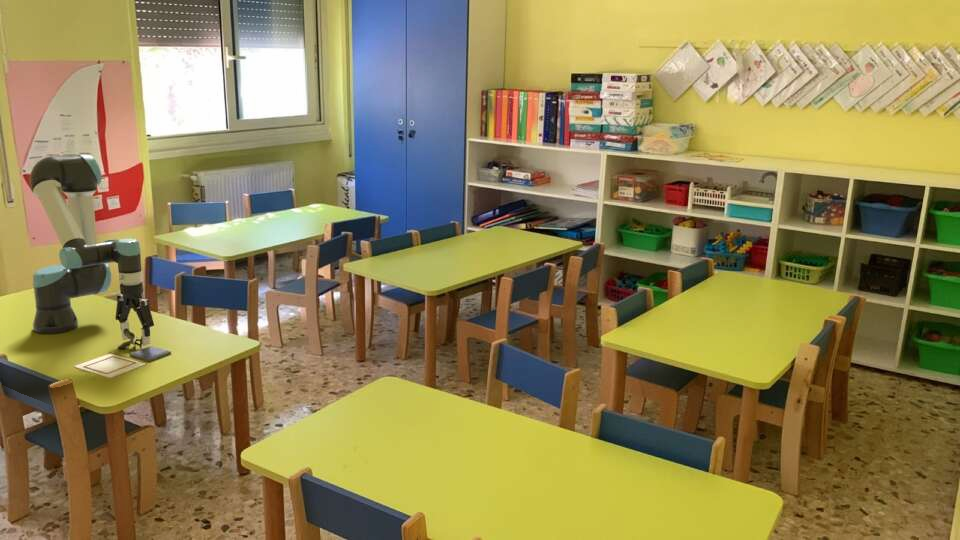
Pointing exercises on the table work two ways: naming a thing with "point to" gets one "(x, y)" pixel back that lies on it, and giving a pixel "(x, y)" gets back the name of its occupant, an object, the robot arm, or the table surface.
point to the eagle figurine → (133, 339)
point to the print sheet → (109, 365)
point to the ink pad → (150, 353)
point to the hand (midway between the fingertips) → (136, 341)
